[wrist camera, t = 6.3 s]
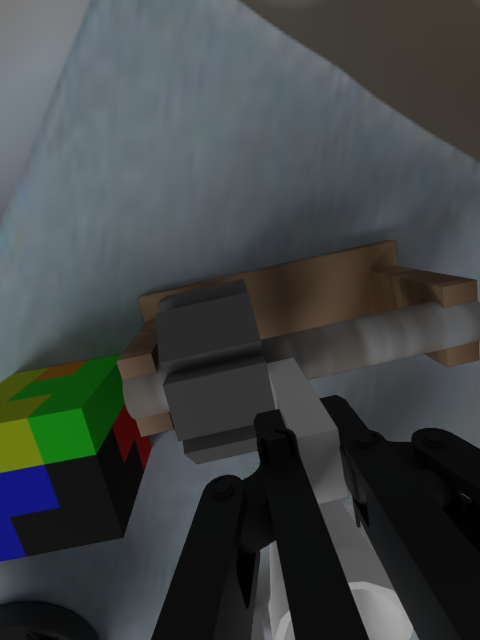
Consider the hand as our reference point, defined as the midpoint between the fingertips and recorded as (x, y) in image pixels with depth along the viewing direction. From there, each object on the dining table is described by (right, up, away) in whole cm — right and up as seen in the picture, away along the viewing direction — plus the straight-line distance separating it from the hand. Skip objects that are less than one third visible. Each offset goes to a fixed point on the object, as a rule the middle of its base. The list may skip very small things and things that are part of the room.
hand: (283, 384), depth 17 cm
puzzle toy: (-17, -5, +14) cm, 23 cm away
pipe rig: (+1, +4, +13) cm, 13 cm away
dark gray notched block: (-3, 0, +4) cm, 5 cm away
